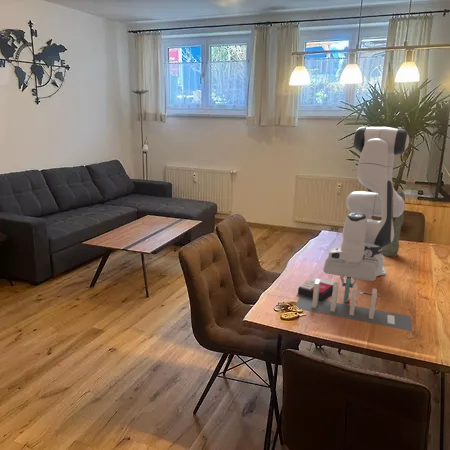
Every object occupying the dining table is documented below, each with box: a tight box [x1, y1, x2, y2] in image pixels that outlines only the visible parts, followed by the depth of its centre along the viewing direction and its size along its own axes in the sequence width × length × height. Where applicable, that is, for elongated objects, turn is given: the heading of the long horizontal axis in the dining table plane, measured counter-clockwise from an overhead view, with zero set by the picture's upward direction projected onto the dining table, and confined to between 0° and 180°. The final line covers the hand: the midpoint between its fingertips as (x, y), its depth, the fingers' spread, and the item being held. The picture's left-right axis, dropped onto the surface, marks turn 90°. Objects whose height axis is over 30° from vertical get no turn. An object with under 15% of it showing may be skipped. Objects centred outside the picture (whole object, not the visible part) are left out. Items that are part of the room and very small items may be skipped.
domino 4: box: [349, 284, 359, 315], centre depth 159 cm, size 2×5×10 cm, turn 160°
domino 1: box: [312, 278, 321, 308], centre depth 163 cm, size 2×5×10 cm, turn 160°
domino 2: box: [330, 281, 340, 312], centre depth 161 cm, size 2×5×10 cm, turn 160°
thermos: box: [381, 190, 406, 258], centre depth 228 cm, size 9×12×35 cm
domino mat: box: [294, 295, 413, 332], centre depth 160 cm, size 12×42×1 cm, turn 70°
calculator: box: [297, 276, 335, 301], centre depth 177 cm, size 11×4×15 cm
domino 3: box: [343, 277, 352, 303], centre depth 169 cm, size 2×5×10 cm, turn 160°
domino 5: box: [369, 288, 378, 319], centre depth 157 cm, size 2×5×10 cm, turn 160°
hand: (347, 286), depth 169 cm, fingers closed on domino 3, 2 cm apart
